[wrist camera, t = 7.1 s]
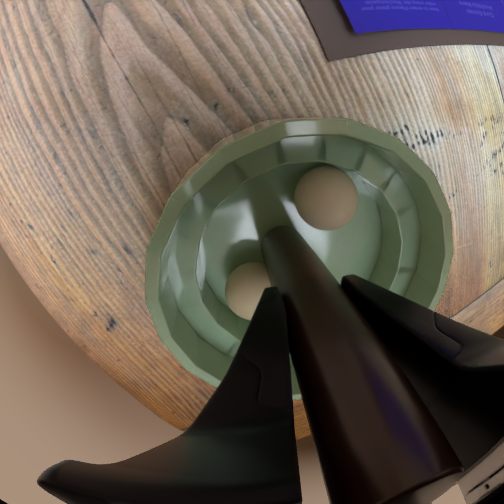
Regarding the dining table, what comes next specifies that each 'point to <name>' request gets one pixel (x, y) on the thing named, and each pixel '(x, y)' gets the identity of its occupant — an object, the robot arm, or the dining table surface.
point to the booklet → (403, 24)
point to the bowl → (285, 214)
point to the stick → (354, 389)
